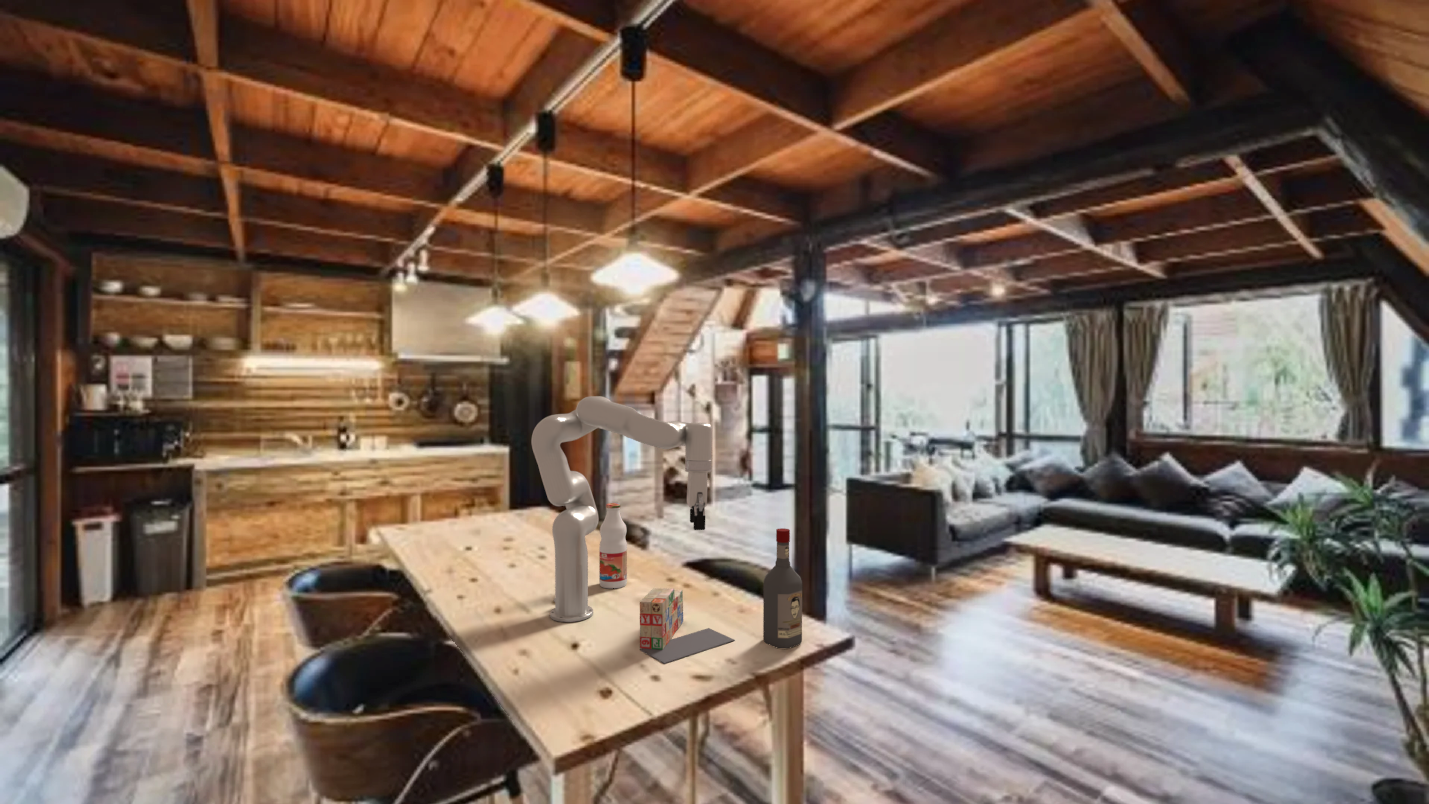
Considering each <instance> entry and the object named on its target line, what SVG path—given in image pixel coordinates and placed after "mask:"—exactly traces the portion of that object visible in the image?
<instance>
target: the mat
mask: <svg viewBox="0 0 1429 804" xmlns="http://www.w3.org/2000/svg"><path fill="white" fill-rule="evenodd" d="M732 642H736V641H735V639H734V638H731V637H729V636H727V635H726V634H723V633H721V632H719V631H717V630H714V629H712V628H710V627H708V628H705V629H701V630H698V631H694V632H692V633H691V632H690V633H687V634H683V635H681V636H677V637H675V638H671V639H670V641H669V642H668V643H667V645H666V646H665V647H664V648H663V650H661V649H646V648H640V649H639V651H641V652H643V654H646V655H647V656H650V657H651V658H653V659H655V660H656V661H659V662H660V663H662V664H663V665H666V664H669V663H672V662H675V661H678V660H681V659H684V658H688V657H690V656H693V655H696V654H700V653H702V652H705V651H708V650H712V649H714V648H717V647H720V646H723V645H727V644H729V643H732Z"/></svg>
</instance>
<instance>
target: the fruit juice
mask: <svg viewBox="0 0 1429 804" xmlns="http://www.w3.org/2000/svg"><path fill="white" fill-rule="evenodd" d="M605 508H606V513H605V517H604V520H603V522H602V523H601V525H600V527H599V534H600V538H601V539H600V541H599V549H598V550H599V551H598V552H599V561H598V563H599V564H598V565H599V574H598V575H599V586H600V587H601V588H602V589H603V588H604V589H613V588H614V589H620V588H624V587H625V586H626V585H627V582H628V543H627V540H626V535H627V525H626V523H625V522H624V521H623V519H622V516H621V511H620V509H621V503H618V502H610V503H606V504H605Z"/></svg>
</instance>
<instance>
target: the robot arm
mask: <svg viewBox="0 0 1429 804" xmlns="http://www.w3.org/2000/svg"><path fill="white" fill-rule="evenodd" d="M596 429H601V430H605V431H607V432H611V433H615V434H618V435H621V436H623V437H625V438H628V439H631V440H633V441H636V442H638V443H641V444H645V445H647V446H651V447H655V448H657V449H662V450H671V449H674V448H678V447H684V448H685V449H684V450H685V453H684V454H685V455H684V456H685V458H684V459H685V460H684V461H685V462H684V464H685V466H684V472H687V486H686V487H687V488H686V503H687V505H688V507H689V508H690V509H689V522H690V523H691V524H693V530H694V531H705V530H706V511H705V510H706V509H705V508H706V507H707V505H708V504H707V503H708V473H711V472H712V467H713V466H712V464H713V461H712V459H713V458H712V456H713V455H712V453H713V452H712V451H713V427H712V425H711V423H707V422H690V423H689V422H684V421H678V420H672V421H663V420H659V419H655V418H652V417H648V416H646V415H643V414H642V413H639V412H638V411H637V410H636V409H635V408H634V407H631V406H628V405H624V404H621V403H618V402H614V401H611V400H610V399H609V398H607V397H606V396H601V395H600V396H599V395H596V396H591V395H590V396H586V397H584V398H582V399H580V401H579V402H578V403H577V406H576V408H575V409H574V410H572V411H571V412H568V413H558V414H551V415H548V416H546V417H544V418H543V419H541V420H540V421H539V422H538V423H537V424H536V426H535V427H534V429H533V431H532V435H531V448H532V451H533V455H534V458H535V460H536V463H537V465H538V469H539V473H540V477H541V481H542V484H543V487H544V490H545V491H544V492H545V494H546V496H547V500H548V501H549V502H550V504H552V505H553V506H555V507H562V506H563V507H565V508H566V509H565V510H563V511H561V512H560V513H559V514H558V515H557V516H556V517H555V518H554V521H553V523H552V526H551V527H552V528H551V529H552V530H551V531H552V538H553V543H554V545H553V546H554V569H555V570H554V577H555V578H554V582H555V583H554V588H555V589H554V591H555V593H554V598H553V601H554V605H555V606H554V608H553V609H552V610H550V612H549V617H550V619H551V620H553V621H556V622H562V623H572V622H575V623H576V622H579V621H580V622H581V621H584V620H587V619H589V618H591V617H592V616H593V615H594V608H593V607H592V606H590V605H589V559H588V558H589V556H588V554H589V552H588V545H587V541H586V537H587V536H588V535H590V534H591V533H593V532H594V531H595V530H596V529H597V528H598V525H599V522H600V521H599V520H600V519H599V511H598V509H597V505H596V502H595V499H594V496H593V493H592V490H591V489H592V488H591V486H590V484H589V481H588V479H587V478H586V477H585V475H584V474H583V473H581V472H579V471H576V470H571V469H570V466H569V463H568V458H567V456H566V454H565V453H564V451H563V449H562V447H561V444H562V443H566V442H572V441H577V440H579V439H580V438H582V437H584V436H586V435H588V434H589V433H591V432H593V431H595V430H596Z"/></svg>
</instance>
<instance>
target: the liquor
mask: <svg viewBox="0 0 1429 804" xmlns="http://www.w3.org/2000/svg"><path fill="white" fill-rule="evenodd" d="M790 532H791V531H790V529H789V528H785V527H784V528H781V527H780V528H776V533H775V535H776V536H775V537H776V538H775V541H776V558H775V559H776V561H775V565H774V566H773V567H772V568H771V569H770V570H769V571H768V573H767V574H765V576H764V578H763V599H762V600H763V601H762V602H763V608H762V610H763V617H762V618H763V619H762V620H763V623H762V626H763V627H762V630H763V631H762V634H763V636H762V637H763V638H762V639H763V641H764V643H765V644H767V645H769V644H770V645H769V646H771V647H773V646H774V648H776V647H777V649H778V648H789V649H791V648H794V647H796V645H797V646H799V645H801V643H802V642H803V580H802V577H801V576H800V575H799V574H798V573H797V571H795V569H794V568H793V567H792V565H791V562H790V541H791V540H790V539H791V536H790V535H791V533H790ZM798 644H799V645H798ZM793 646H794V647H793ZM790 647H791V648H790Z"/></svg>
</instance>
